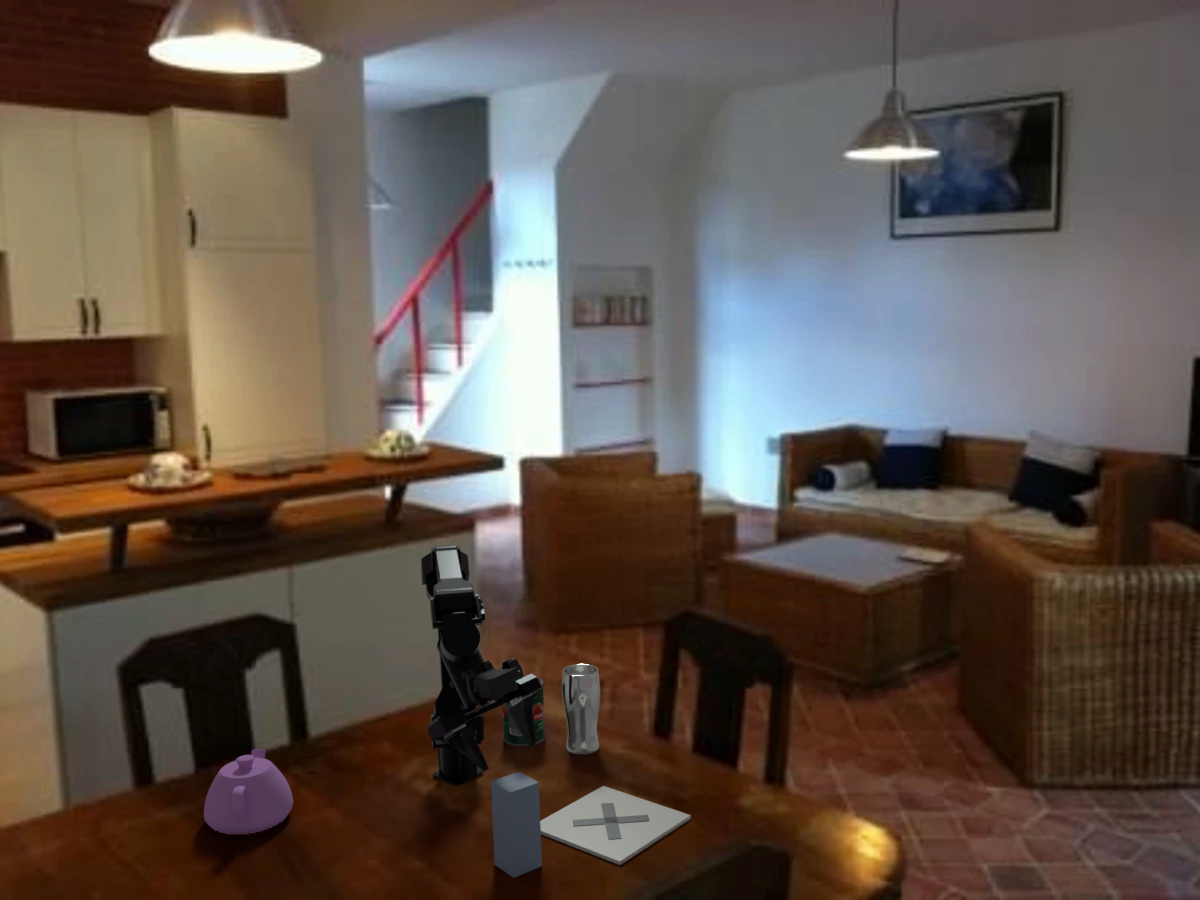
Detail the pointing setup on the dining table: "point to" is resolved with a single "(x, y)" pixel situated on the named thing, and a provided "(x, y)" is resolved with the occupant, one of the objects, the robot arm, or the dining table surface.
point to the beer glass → (581, 707)
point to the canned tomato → (513, 732)
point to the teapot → (247, 796)
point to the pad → (612, 824)
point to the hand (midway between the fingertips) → (510, 757)
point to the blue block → (516, 824)
